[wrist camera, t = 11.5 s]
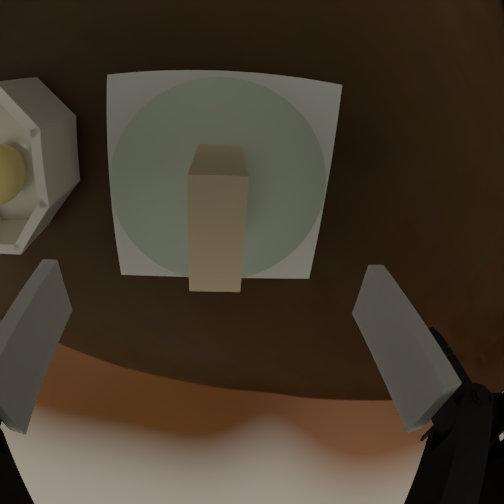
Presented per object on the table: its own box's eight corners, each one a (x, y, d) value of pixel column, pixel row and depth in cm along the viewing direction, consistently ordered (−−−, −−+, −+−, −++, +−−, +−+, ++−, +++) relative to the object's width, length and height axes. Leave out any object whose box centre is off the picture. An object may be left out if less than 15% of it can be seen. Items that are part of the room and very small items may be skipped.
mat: (110, 74, 20) (107, 74, 19) (338, 84, 22) (342, 84, 21) (123, 269, 29) (121, 274, 28) (307, 273, 31) (308, 278, 30)
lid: (112, 80, 19) (55, 84, 11) (334, 89, 21) (393, 98, 13) (125, 270, 28) (98, 341, 20) (304, 274, 30) (331, 344, 22)
